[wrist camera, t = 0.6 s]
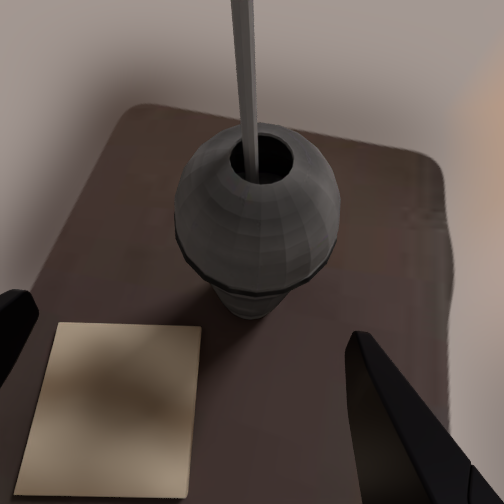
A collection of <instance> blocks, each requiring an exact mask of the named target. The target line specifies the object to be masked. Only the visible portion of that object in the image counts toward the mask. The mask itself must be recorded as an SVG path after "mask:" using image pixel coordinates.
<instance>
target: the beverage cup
mask: <svg viewBox="0 0 504 504" xmlns="http://www.w3.org/2000/svg"><path fill="white" fill-rule="evenodd" d="M231 9H232V21H233V34H234V45H235V58H236V70H237V82H238V95H239V105H240V106H239V107H240V119H241V124H240V125H237V126H234V127H231V128H228V129H226V130H223V131H221V132H219V133H218V134H216V135H215V136H214V137H212V138H211V139H209V140H208V141H207V142H205V143H204V144H202V145H201V146H200V147H199V149H198V150H197V151H196V153H195V154H194V155H193V157H192V158H191V159H190V161H189V162H188V163H187V165H186V166H185V167H184V169H183V172H182V175H181V178H180V182H179V185H178V188H177V191H176V194H175V213H174V220H175V237H176V241H177V243H178V245H179V247H180V250H181V252H182V254H183V256H184V259H185V261H186V262H187V263H188V264H189V265H190V266H191V267H192V268H193V269H194V270H195V271H196V272H197V273H198V275H199V276H200V277H201V278H202V279H203V280H205V281H207V282H209V283H210V284H211V285H212V287H213V288H214V290H215V292H216V293H217V295H218V296H219V298H220V300H221V301H222V303H223V304H224V305H225V306H226V307H227V308H228V309H229V310H230V311H231V312H232V314H234V315H236V316H238V317H240V318H244V319H257V318H261V317H263V316H265V315H267V314H268V313H269V312H271V311H272V310H273V309H274V308H275V307H276V306H277V305H278V304H279V303H280V302H281V301H282V300H283V299H284V298H285V296H286V295H287V294H288V293H289V292H290V291H291V290H293V289H295V288H297V287H299V286H301V285H303V284H305V283H307V282H309V281H310V280H311V279H312V278H313V277H314V276H315V275H316V274H317V273H318V272H319V271H320V270H321V269H322V268H323V267H324V266H325V265H326V264H327V262H328V259H329V257H330V255H331V253H332V251H333V248H334V246H335V244H336V241H337V232H338V227H339V216H340V201H341V200H340V194H339V190H338V187H337V183H336V180H335V177H334V173H333V171H332V169H331V167H330V165H329V164H328V162H327V161H326V159H325V158H324V157H323V155H322V154H321V152H320V151H319V150H318V148H316V147H315V146H314V145H313V144H312V143H311V142H309V141H308V140H307V139H305V138H304V137H303V136H301V135H300V134H299V133H297V132H295V131H292V130H290V129H287V128H285V127H283V126H280V125H274V124H267V123H257V104H256V75H255V74H256V73H255V42H254V13H253V12H254V11H253V0H231Z"/></svg>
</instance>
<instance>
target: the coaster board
mask: <svg viewBox="0 0 504 504" xmlns="http://www.w3.org/2000/svg"><path fill="white" fill-rule="evenodd" d="M201 332H202V328H201V326H169V325H135V324H100V323H65V322H59V324H58V328H57V331H56V335H55V339H54V343H53V347H52V350H51V354H50V358H49V362H48V366H47V369H46V373H45V377H44V381H43V385H42V388H41V392H40V396H39V400H38V404H37V407H36V411H35V415H34V419H33V423H32V426H31V430H30V434H29V438H28V442H27V446H26V449H25V453H24V457H23V461H22V465H21V468H20V472H19V476H18V480H17V484H16V487H15V491H14V495H46V496H98V497H150V498H186V496H187V494H188V485H189V473H190V461H191V450H192V438H193V426H194V414H195V402H196V391H197V379H198V367H199V355H200V343H201Z"/></svg>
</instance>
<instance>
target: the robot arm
mask: <svg viewBox="0 0 504 504" xmlns="http://www.w3.org/2000/svg"><path fill="white" fill-rule="evenodd" d="M38 317H39V310H38V307H37V305H36V303H35V301H34V299H33V297H32V295H31V293H30V292H29V291H26V290H19V289H12V290H9V291H7V292H5V293H3V294H1V295H0V388H1V386H2V385H3V383H4V382H5V380H6V379H7V377H8V375H9V374H10V372H11V370H12V369H13V367H14V365H15V363H16V361H17V359H18V357H19V355H20V353H21V351H22V349H23V347H24V345H25V343H26V341H27V339H28V337H29V336H30V334H31V332H32V330H33V328H34V326H35V324H36V322H37V320H38ZM345 373H346V392H347V409H348V418H349V424H350V430H351V436H352V442H353V449H354V455H355V461H356V467H357V473H358V479H359V485H360V491H361V497H362V504H504V502H503V501H502V500H501V499H500V498H499V496H498V495H497V494H496V493H495V491H494V490H493V489H492V488H491V486H490V485H489V484H488V483H487V481H486V480H485V479H484V478H483V476H482V475H481V474H480V472H479V471H478V470H477V469H476V467H475V466H474V465H471V461H470V460H469V459H468V457H467V456H466V455H465V453H464V452H463V451H462V450H461V448H460V447H459V446H458V445H457V443H456V442H455V441H454V439H453V438H452V437H451V436H450V434H449V433H448V432H447V431H446V429H445V428H444V427H443V425H442V424H441V423H440V422H439V420H438V419H437V418H436V417H435V415H434V414H433V413H432V411H431V410H430V409H429V408H428V406H427V405H426V404H425V402H424V401H423V400H422V399H421V397H420V396H419V395H418V394H417V392H416V391H415V390H414V388H413V387H412V386H411V385H410V383H409V382H408V381H407V380H406V378H405V377H404V376H403V374H402V373H401V372H400V371H399V369H398V368H397V367H396V366H395V364H394V363H393V362H392V360H391V359H390V358H389V357H388V355H387V354H386V353H385V352H384V350H383V349H382V348H381V346H380V345H379V344H378V343H377V341H376V340H375V339H374V338H373V336H372V335H371V334H370V333H368V332H363V331H354V332H353V333H352V335H351V337H350V340H349V342H348V344H347V347H346V349H345Z"/></svg>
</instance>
